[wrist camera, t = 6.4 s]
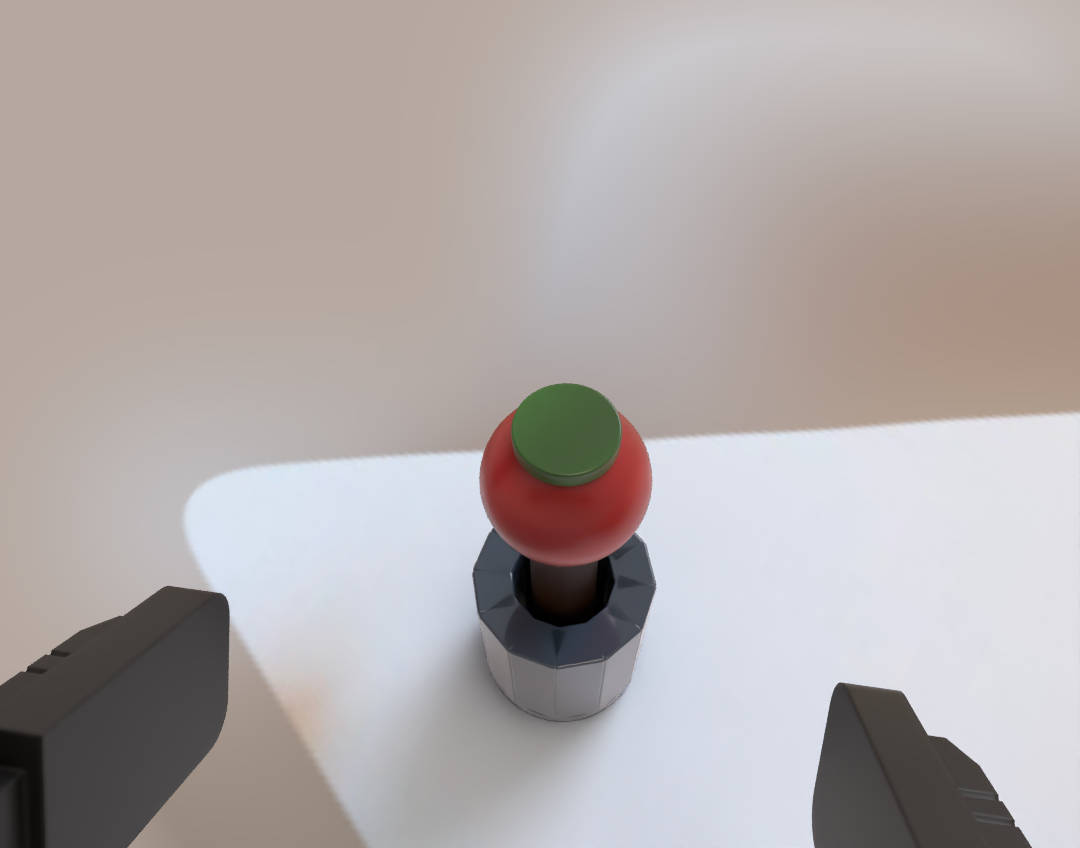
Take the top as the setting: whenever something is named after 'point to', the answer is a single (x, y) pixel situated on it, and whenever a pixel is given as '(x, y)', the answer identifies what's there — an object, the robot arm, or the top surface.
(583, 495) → the red ball joystick
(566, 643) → the holder
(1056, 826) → the top surface
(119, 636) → the robot arm
